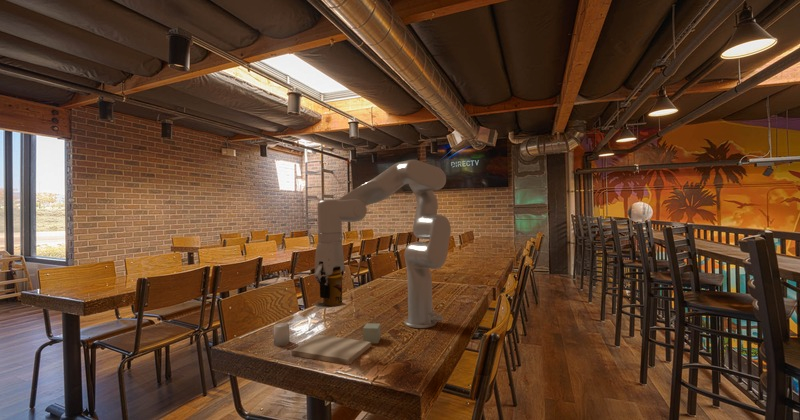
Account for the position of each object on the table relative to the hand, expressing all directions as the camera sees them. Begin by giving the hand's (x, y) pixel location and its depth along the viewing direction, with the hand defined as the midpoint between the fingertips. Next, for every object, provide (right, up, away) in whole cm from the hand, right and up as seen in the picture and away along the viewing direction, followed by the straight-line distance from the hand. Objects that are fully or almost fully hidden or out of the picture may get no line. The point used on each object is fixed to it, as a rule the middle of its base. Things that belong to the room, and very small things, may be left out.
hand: (331, 294), depth 106 cm
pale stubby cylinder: (-18, -18, +7) cm, 26 cm away
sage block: (+12, -17, +7) cm, 23 cm away
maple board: (0, -17, -1) cm, 17 cm away
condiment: (0, -3, -1) cm, 3 cm away
